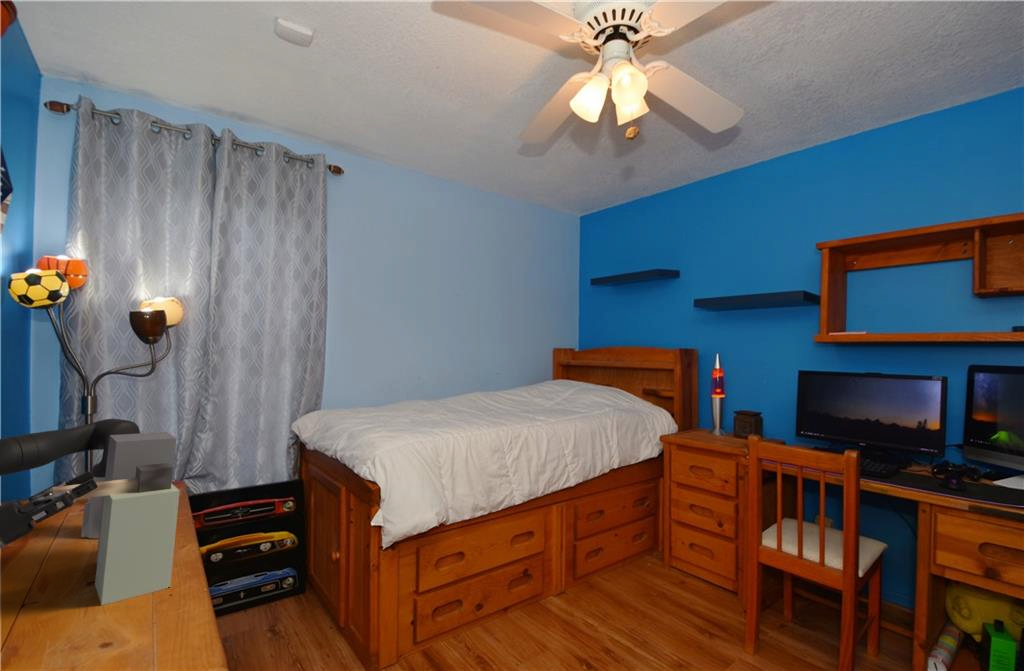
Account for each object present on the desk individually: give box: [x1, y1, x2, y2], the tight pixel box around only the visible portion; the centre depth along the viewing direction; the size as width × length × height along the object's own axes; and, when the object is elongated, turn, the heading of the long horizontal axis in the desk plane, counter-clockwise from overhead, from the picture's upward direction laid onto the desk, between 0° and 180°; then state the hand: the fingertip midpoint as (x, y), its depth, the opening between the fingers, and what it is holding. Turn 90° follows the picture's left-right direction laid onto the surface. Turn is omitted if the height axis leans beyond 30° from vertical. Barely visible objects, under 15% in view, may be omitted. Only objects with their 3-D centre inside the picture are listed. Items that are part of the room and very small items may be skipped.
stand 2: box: [94, 482, 181, 606], centre depth 107 cm, size 12×12×22 cm
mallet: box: [52, 463, 174, 500], centre depth 104 cm, size 20×6×5 cm, turn 137°
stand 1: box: [95, 431, 177, 564], centre depth 118 cm, size 12×12×32 cm
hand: (93, 478), depth 101 cm, fingers open, 8 cm apart
